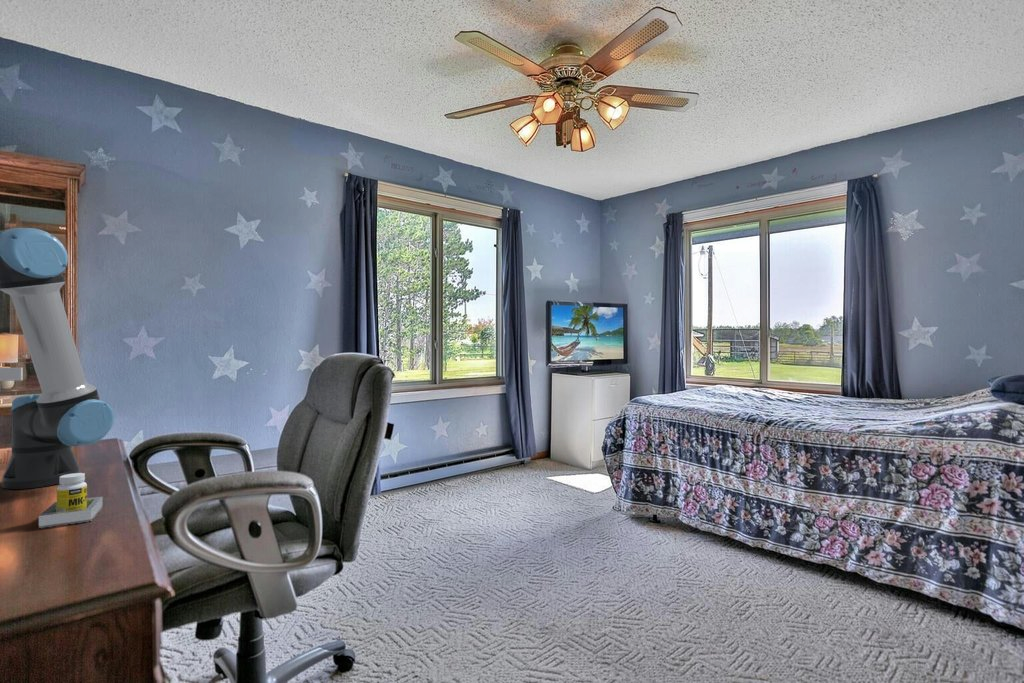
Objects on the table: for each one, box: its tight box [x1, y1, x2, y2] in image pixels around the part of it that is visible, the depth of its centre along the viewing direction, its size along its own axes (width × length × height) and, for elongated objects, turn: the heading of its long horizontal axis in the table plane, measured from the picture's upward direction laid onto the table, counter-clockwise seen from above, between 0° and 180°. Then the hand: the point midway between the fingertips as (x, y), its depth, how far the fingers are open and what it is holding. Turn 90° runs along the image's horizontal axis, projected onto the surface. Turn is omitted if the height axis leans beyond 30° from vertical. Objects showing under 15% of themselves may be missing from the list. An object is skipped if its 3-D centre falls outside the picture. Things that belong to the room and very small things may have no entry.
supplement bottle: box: [56, 472, 88, 512], centre depth 104 cm, size 5×5×8 cm
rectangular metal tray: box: [38, 496, 104, 529], centre depth 105 cm, size 10×8×2 cm
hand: (9, 375), depth 100 cm, fingers open, 13 cm apart
